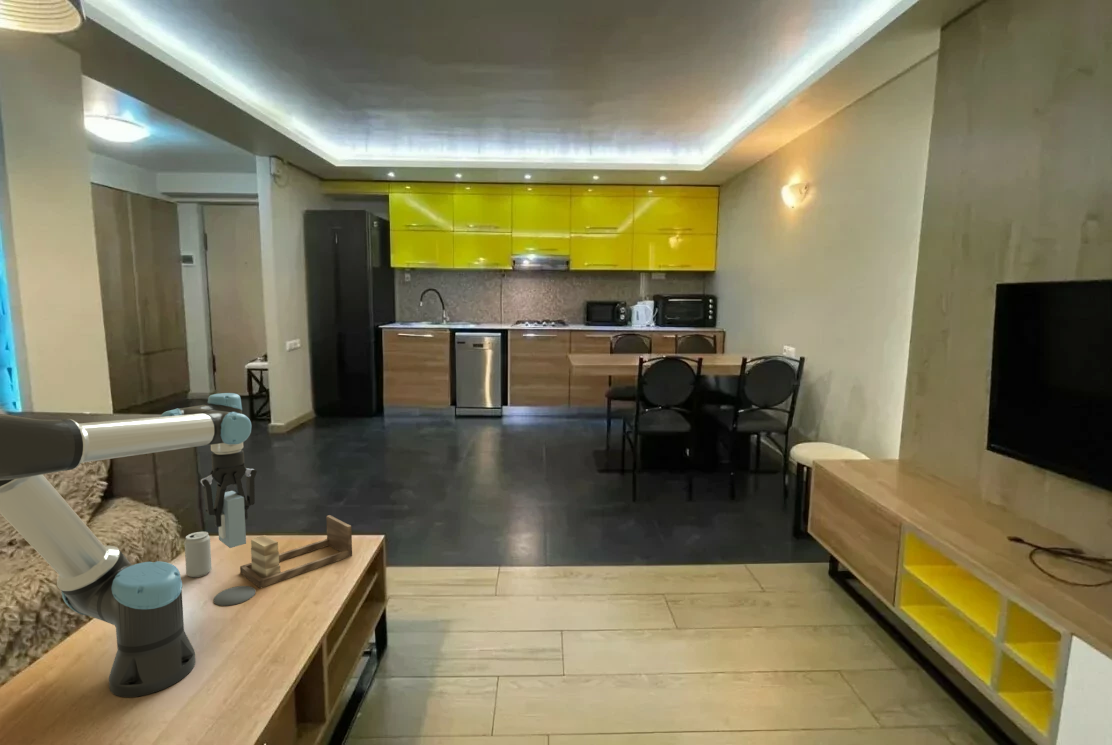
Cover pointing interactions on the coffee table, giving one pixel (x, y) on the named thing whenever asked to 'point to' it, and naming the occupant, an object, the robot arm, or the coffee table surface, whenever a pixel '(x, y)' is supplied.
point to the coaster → (234, 595)
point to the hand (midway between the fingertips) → (232, 534)
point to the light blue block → (234, 520)
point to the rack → (336, 538)
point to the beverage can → (197, 554)
